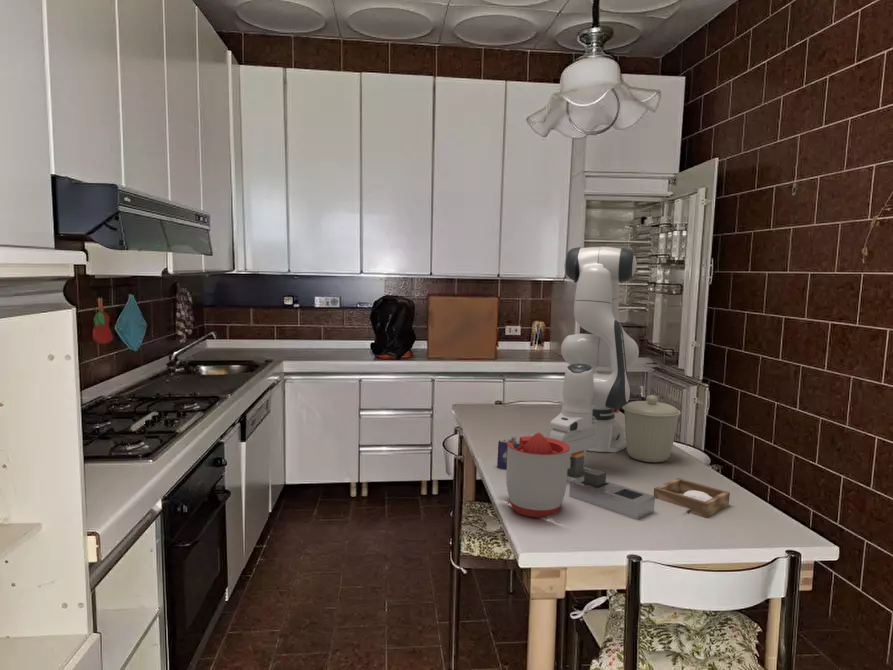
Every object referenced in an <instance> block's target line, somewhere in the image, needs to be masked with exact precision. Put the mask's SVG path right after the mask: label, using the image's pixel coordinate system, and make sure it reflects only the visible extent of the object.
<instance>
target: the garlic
mask: <svg viewBox="0 0 893 670" xmlns="http://www.w3.org/2000/svg"><path fill="white" fill-rule="evenodd" d="M682 495H684V496H687V497H691V498H694V499H697V500H701V501H704V502H705V501H707V500H709V499H711V498H713V497H711V496H709V495H708V494H706V493H704V492H701V491H695V490H690V491H687V492H685V493H682Z"/></svg>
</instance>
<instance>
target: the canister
mask: <svg viewBox="0 0 893 670" xmlns="http://www.w3.org/2000/svg"><path fill="white" fill-rule="evenodd" d="M622 410H624V426H625V427H624V429H625V439H626V447H625V448H626V451H627V454H628V455H629V456H630V458H632V459H634V460H638V461H640V462H645V463H663V462H665V461H667V460H668V459H669V458H670V456H671V453H672V450H673V446H674V441H675V435H676V431H677V425H678V421H679V416H680V415H681V414H682V411H680V410H679V409H678V408H676V407H675V406H673V404H672V405H671V404H669V403H666V402H665V403H664V402H659V398H658V396H656V395H654V394H648V395H647V396H646V399H645V400H636V401H630V402H629V401H628V403H627V404H626V405H625V406H623V407H622Z"/></svg>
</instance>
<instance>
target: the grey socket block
mask: <svg viewBox="0 0 893 670" xmlns="http://www.w3.org/2000/svg"><path fill="white" fill-rule="evenodd" d="M568 490H569V491H568V493H569V494H568V496H569V497H571V498H574V499H577V500H580V501H582V502H585V503H589V504H590V505H593V506H597V507H599V508H603V509H604V510H605V509H606V510H608V511H610V512H614V513H616V514H620V515H622V516H625V517H628V518H630V519H631V518H632V519H633V520H640V519H642V518H645V517H646V516H648V515H650V514H652V513H654V512H655V501H656V498H655V496H654V494H649V493H647V492H643V491H639V490H636V489H633V488H630V487H626V486H623V485H620V484H617V483H614V482H612V481H611V482H610V481H608V480H606V484H605V486H602V487H600V488H595V487H592V486H589V485H586V484H584V475H582V476H580V477H578V478H575V480H572V481H569V489H568Z"/></svg>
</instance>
